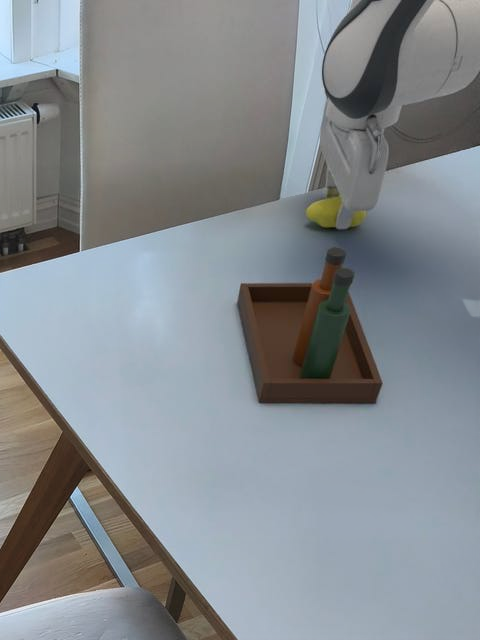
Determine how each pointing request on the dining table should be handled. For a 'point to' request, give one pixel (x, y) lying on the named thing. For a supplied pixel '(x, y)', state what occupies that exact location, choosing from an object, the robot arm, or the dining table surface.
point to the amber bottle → (317, 300)
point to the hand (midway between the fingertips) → (335, 213)
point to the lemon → (330, 213)
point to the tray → (280, 342)
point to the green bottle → (328, 329)
